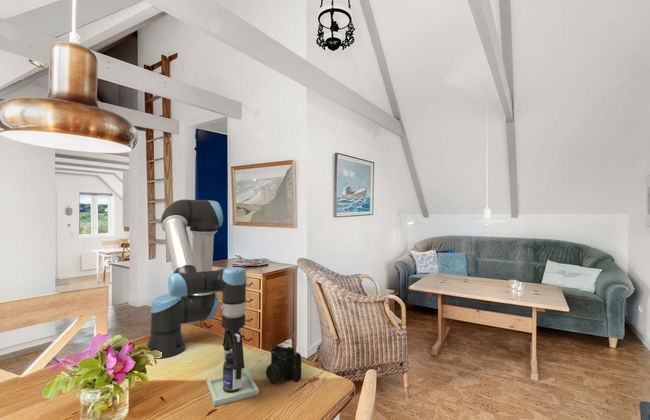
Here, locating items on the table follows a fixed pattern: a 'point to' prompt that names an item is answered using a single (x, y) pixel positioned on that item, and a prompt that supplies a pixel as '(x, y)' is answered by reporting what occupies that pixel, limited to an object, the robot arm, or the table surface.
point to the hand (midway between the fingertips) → (232, 378)
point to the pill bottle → (228, 374)
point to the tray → (224, 397)
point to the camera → (284, 365)
